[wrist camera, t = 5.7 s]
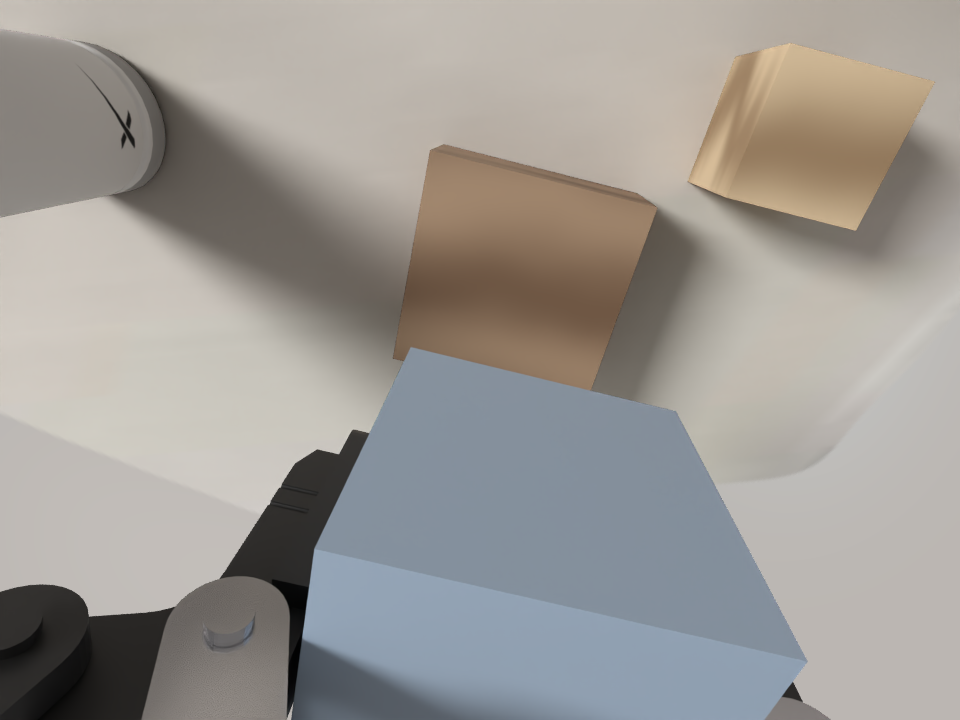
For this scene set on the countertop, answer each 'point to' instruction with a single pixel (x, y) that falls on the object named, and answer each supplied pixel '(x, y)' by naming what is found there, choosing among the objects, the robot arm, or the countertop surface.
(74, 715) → the robot arm
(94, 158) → the travel mug
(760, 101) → the oak block
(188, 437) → the countertop surface
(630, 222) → the walnut plinth
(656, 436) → the slate block
